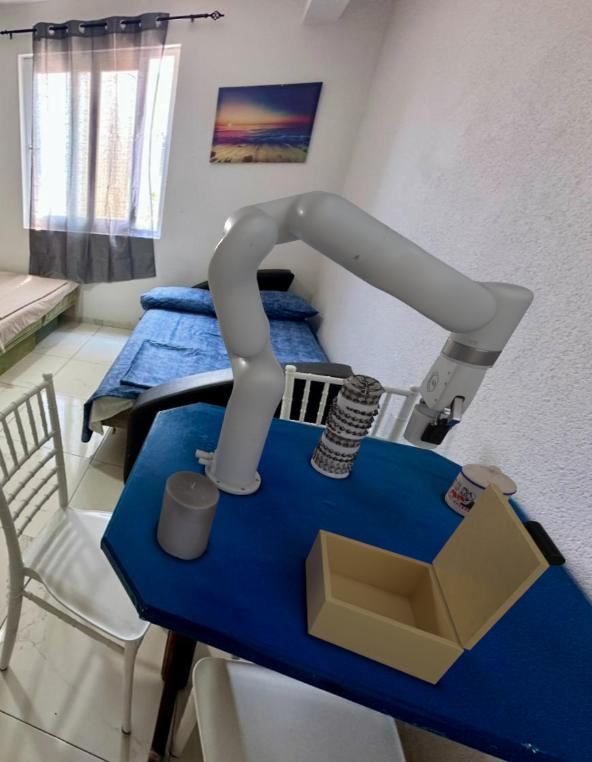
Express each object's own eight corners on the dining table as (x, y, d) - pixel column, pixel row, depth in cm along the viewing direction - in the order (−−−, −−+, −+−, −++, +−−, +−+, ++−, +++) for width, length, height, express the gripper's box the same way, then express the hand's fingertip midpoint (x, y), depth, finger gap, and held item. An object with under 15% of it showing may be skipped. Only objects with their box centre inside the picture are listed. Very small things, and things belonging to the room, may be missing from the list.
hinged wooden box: (308, 633, 65) (325, 599, 61) (305, 561, 77) (320, 529, 73) (435, 684, 59) (464, 651, 55) (411, 598, 71) (433, 565, 67)
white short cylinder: (448, 453, 80) (466, 424, 76) (409, 448, 81) (426, 418, 77) (428, 433, 86) (445, 405, 82) (393, 428, 87) (407, 400, 83)
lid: (540, 563, 46) (599, 581, 45) (489, 482, 58) (534, 494, 57) (462, 647, 55) (509, 665, 53) (431, 562, 67) (469, 574, 65)
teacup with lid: (433, 491, 95) (457, 452, 89) (474, 495, 94) (500, 455, 89) (472, 532, 85) (501, 491, 79) (518, 536, 84) (551, 495, 78)
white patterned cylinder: (359, 474, 100) (401, 385, 88) (332, 483, 97) (372, 392, 85) (326, 452, 107) (361, 367, 95) (301, 460, 104) (333, 373, 92)
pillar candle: (189, 516, 86) (201, 461, 79) (216, 553, 78) (232, 496, 71) (148, 526, 83) (156, 470, 76) (171, 566, 75) (184, 508, 68)
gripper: (431, 332, 82) (393, 407, 90) (461, 366, 68) (413, 450, 76) (477, 340, 79) (433, 416, 88) (518, 377, 65) (462, 463, 74)
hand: (424, 431), depth 82 cm, fingers closed on white short cylinder, 6 cm apart
